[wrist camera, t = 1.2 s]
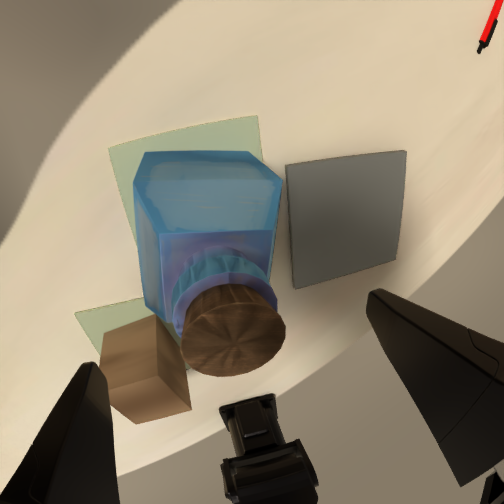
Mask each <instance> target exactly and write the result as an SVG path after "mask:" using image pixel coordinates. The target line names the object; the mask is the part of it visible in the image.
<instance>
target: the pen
mask: <svg viewBox="0 0 504 504" xmlns="http://www.w3.org/2000/svg"><path fill="white" fill-rule="evenodd" d="M502 3H503V0H496V1H495V3H494V6H493V9H492V11H491V14H490V16H489V19H488V21H487V24H486V26H485V29H484V31H483V33H482V36H481V38H480V40H479V43H480V45H479V48H478V50H477V53H478V54H480V53H481V51H482V48H486V47H487V46H488V45H489V42H490V40H491V38H492V35H493V33H494V30H495V27H496V25H497V22H498V21H497V17H498V15H499V12H500V9H501V6H502Z"/></svg>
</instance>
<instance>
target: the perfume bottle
mask: <svg viewBox="0 0 504 504" xmlns="http://www.w3.org/2000/svg"><path fill="white" fill-rule="evenodd" d="M282 183H283V180H282V179H281V178H280V177H278V176H277V175H276V174H275V173H274V172H273V171H271V170H270V169H269V168H268V167H267V166H266V165H264V164H263V163H262V162H261V161H260V160H258V159H257V158H256V157H255V156H254V155H252V154H251V153H250V152H249V151H222V150H188V151H152V152H145V153H144V155H143V157H142V160H141V162H140V165H139V167H138V170H137V172H136V175H135V177H134V180H133V198H134V213H135V226H136V237H137V247H138V256H139V265H140V273H141V281H142V288H143V295H144V301H145V306H146V307H147V308H148V309H150V310H151V311H152V312H154V313H155V314H156V315H157V316H159V317H160V318H161V319H163V320H164V321H165V322H167V323H170V322H173V324H174V327H175V331H176V333H177V334H178V335H179V337H180V338H181V344H180V351H181V354H182V357H183V360H184V361H185V362H186V363H187V364H188V365H189V366H190V367H191V368H192V369H194V370H196V371H198V372H200V373H202V374H206V375H211V376H216V377H226V376H236V375H240V374H245V373H248V372H250V371H252V370H255V369H257V368H259V367H261V366H263V365H264V364H265V363H267V362H268V361H270V360H271V359H272V358H273V357H274V356H275V355H276V354H277V352H278V351H279V350H280V349H281V347H282V344H283V342H284V340H285V331H286V326H285V324H284V322H283V320H282V318H281V316H280V315H279V314H278V313H277V298H276V296H275V294H274V292H273V289H272V287H271V285H270V283H269V279H270V272H271V265H272V258H273V251H274V243H275V236H276V229H277V221H278V214H279V206H280V198H281V190H282Z"/></svg>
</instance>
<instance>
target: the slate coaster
mask: <svg viewBox="0 0 504 504" xmlns="http://www.w3.org/2000/svg"><path fill="white" fill-rule="evenodd" d="M406 156H407V151H404V150H400V151H389V152H379V153H369V154H360V155H352V156H344V157H336V158H329V159H322V160H315V161H308V162H301V163H295V164H289V165H285V171H286V183H287V196H288V210H289V224H290V239H291V255H292V274H293V287H294V289H295V290H296V289H299V288H303V287H307V286H310V285H314V284H317V283H321V282H324V281H327V280H331V279H334V278H338V277H341V276H344V275H348V274H351V273H354V272H358V271H361V270H364V269H367V268H371V267H374V266H377V265H380V264H383V263H386V262H390V261H393V260H396V254H397V247H398V241H399V233H400V226H401V217H402V209H403V199H404V187H405V174H406Z"/></svg>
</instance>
